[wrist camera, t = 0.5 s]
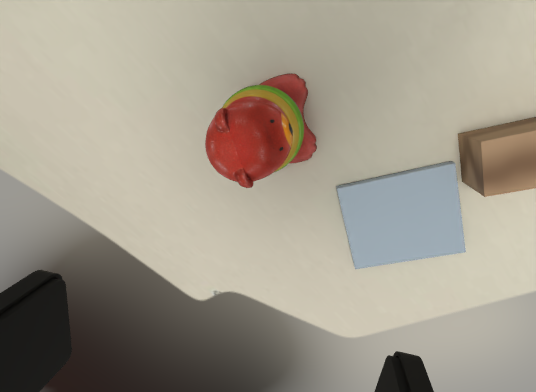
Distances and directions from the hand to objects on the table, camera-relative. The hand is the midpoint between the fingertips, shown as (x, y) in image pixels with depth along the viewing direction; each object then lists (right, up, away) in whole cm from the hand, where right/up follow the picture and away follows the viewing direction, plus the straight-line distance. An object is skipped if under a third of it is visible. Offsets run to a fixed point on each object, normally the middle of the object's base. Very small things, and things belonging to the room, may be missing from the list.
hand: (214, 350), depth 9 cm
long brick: (+30, +10, +28) cm, 42 cm away
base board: (+19, +2, +33) cm, 38 cm away
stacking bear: (+2, +14, +32) cm, 35 cm away
